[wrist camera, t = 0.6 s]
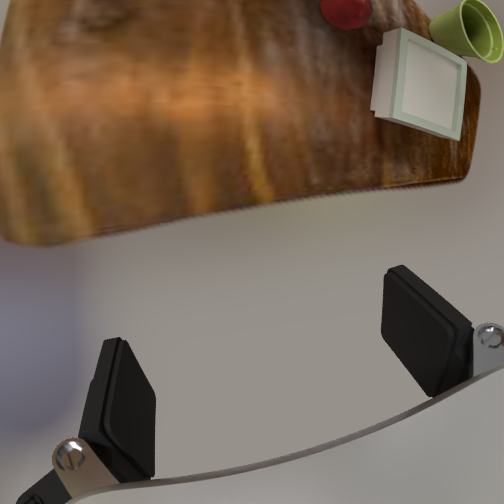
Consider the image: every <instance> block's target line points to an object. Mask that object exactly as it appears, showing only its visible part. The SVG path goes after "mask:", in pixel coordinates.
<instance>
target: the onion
mask: <svg viewBox="0 0 504 504" xmlns="http://www.w3.org/2000/svg"><path fill="white" fill-rule="evenodd" d="M320 9H321V12H322V14H323V16H324V17H325V19H326V20H327V21H328V22H329V23H330V24H332V25H334V26H335V27H338V28H341V29H346V30H348V29H355V28H359V27H361V26H362V25H364V24H365V23H366V22H368V20H369V18H370V16H371V13H372V5H371V2H370V0H320Z"/></svg>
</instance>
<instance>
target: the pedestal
mask: <svg viewBox="0 0 504 504" xmlns="http://www.w3.org/2000/svg"><path fill="white" fill-rule="evenodd" d="M466 74H467V61H466V60H464V59H462V58H460V57H459V56H457V55H455V54H453V53H452V52H450V51H448V50H446V49H444V48H443V47H441V46H439V45H437V44H435V43H433V42H431V41H429V40H427V39H425V38H423V37H421V36H419V35H417V34H415V33H413V32H410V31H408V30H406V29H404V28H402V27H401V28H398V29H394V30H391V31H388V32H385V33H383V44H382V45H380V46H377V51H376V62H375V72H374V81H373V90H372V98H371V106H370V110H371V111H374V112H375V117H378V118H381V119H385V120H388V121H392V122H395V123H398V124H402V125H405V126H408V127H411V128H414V129H417V130H420V131H423V132H426V133H429V134H432V135H435V136H438V137H441V138H446V139H452V140H457V141H459V140H460V134H461V126H462V118H463V110H464V100H465V89H466Z"/></svg>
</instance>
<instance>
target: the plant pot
mask: <svg viewBox="0 0 504 504" xmlns="http://www.w3.org/2000/svg"><path fill="white" fill-rule="evenodd" d="M429 32H430V36H431V38H432V39H433V41H434V42H435V44H437V45H439V46H441V47H443V48H444V49H446V50H448V51H450V52H452V53H453V54H455V55H460V56H469V57H476V58H478V59H481V60H483V61H485V62H487V63H496V62H498V61H499V60H500V59H501V57H502V54H503V49H504V42H503V36H502V32H501V28H500V26H499V23H498V21H497V19H496V17H495V16H494V14H493V13H492V12H491V10H490V9H489V8H488V7H487V6H486V5H485V4H484V3H483V2H481V1H480V0H462V1H461V3H460V4H459V5H458V6H457V7H455V8H454V9H451V10H449V11H447V12H445V13H443V14H441V15H439V16H437V17H435V18H434V19H432V20H431V22H430V25H429Z"/></svg>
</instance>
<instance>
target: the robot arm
mask: <svg viewBox="0 0 504 504" xmlns="http://www.w3.org/2000/svg"><path fill="white" fill-rule="evenodd" d="M471 325H472V323H471V322H470V321H469V320H468V319H467V318H466V317H464V315H463V314H461V313H460V312H459V311H458V310H457V309H456V308H454V307H453V306H452V305H451V304H450V303H449V302H448V301H446V300H445V299H444V298H443V297H442V296H441V295H439V294H438V293H437V292H436V291H435V290H434V289H432V288H431V287H430V286H429V285H428V284H426V283H425V282H424V281H423V280H421V279H420V278H419V277H418V276H417V275H415V274H414V273H413V272H412V271H410V270H409V269H408V268H407V267H405V266H404V265H399V266H396V267H393V268H390V269H388V271H387V274H385V275H384V289H383V308H382V323H381V334H382V337H383V339H384V340H385V342H386V343H387V344H388V345H389V347H390V348H391V349H392V351H393V352H394V353H395V354H396V356H397V357H398V358H399V359H400V361H401V362H402V363H403V365H404V366H405V367H406V368H407V370H408V371H409V372H410V374H411V375H412V376H413V378H414V379H415V380H416V381H417V383H418V384H419V386H420V387H421V388H422V389H423V391H424V392H425V393H426V395H427V396H428V397H433V398H432V399H430V400H428V401H426V402H424V403H422V404H420V405H418V406H416V407H414V408H412V409H410V410H408V411H405V412H403V413H401V414H399V415H397V416H394V417H392V418H390V419H388V420H385V421H383V422H381V423H378V424H376V425H373V426H371V427H368V428H366V429H363V430H361V431H358V432H356V433H353V434H350V435H347V436H345V437H342V438H339V439H336V440H333V441H330V442H327V443H324V444H322V445H318V446H316V447H312V448H309V449H306V450H302V451H299V452H295V453H292V454H288V455H285V456H281V457H278V458H273V459H269V460H265V461H262V462H257V463H253V464H248V465H244V466H239V467H234V468H229V469H224V470H219V471H213V472H207V473H201V474H194V475H188V476H180V477H172V478H164V479H155V480H151V477H154V475H155V411H156V396H155V393H154V391H153V389H152V387H151V385H150V383H149V382H148V380H147V378H146V376H145V374H144V373H143V371H142V369H141V367H140V365H139V363H138V361H137V359H136V357H135V356H134V353H133V352H132V350H131V348H130V346H129V344H128V342H127V341H126V340H122V339H121V338H120V337H117V338H112V339H107V340H104V342H103V345H102V349H101V353H100V356H99V360H98V363H97V367H96V371H95V375H94V378H93V380H92V381H91V383H90V387H89V391H88V395H87V399H86V403H85V408H84V412H83V416H82V421H81V425H80V430H79V435H78V438H73V437H72V438H69V439H66V440H64V441H62V442H61V443H59V445H57V447H56V448H55V450H54V451H53V454H52V465H53V467H54V469H53V470H52V471H50V472H49V473H48V474H47V475H45V476H44V477H43V478H42V479H40V480H39V481H38V482H37V483H36V484H34V485H33V486H32V487H31V488H29V489H28V490H27V491H26V492H24V493H23V494H22V495H21V496H20V497H19V498H18V500H17V502H16V504H504V328H503V327H502V326H500V325H497V324H494V323H484V324H481V325H479V326H477V327H476V329H474V328H473V327H471Z"/></svg>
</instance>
